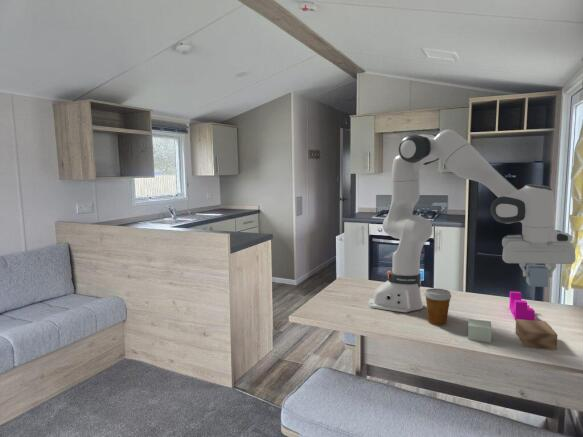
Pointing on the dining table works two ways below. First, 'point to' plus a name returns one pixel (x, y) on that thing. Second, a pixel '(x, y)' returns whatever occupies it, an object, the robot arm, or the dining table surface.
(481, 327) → the sage block
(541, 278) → the slate block
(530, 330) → the walnut pedestal
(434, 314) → the disposable coffee cup
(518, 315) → the toy block
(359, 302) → the dining table surface
